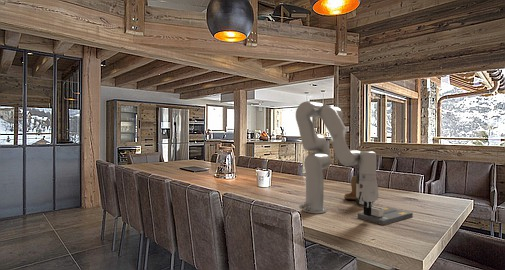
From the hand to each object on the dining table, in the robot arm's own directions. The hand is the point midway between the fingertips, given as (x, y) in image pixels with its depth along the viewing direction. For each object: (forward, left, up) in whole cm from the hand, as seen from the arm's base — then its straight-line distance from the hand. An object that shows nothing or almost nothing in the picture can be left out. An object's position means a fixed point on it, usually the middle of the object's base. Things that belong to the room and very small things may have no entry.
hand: (367, 215), depth 143 cm
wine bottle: (+27, +22, -4) cm, 35 cm away
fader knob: (+7, 0, -1) cm, 7 cm away
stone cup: (+35, +33, -4) cm, 48 cm away
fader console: (+15, 0, -3) cm, 15 cm away
